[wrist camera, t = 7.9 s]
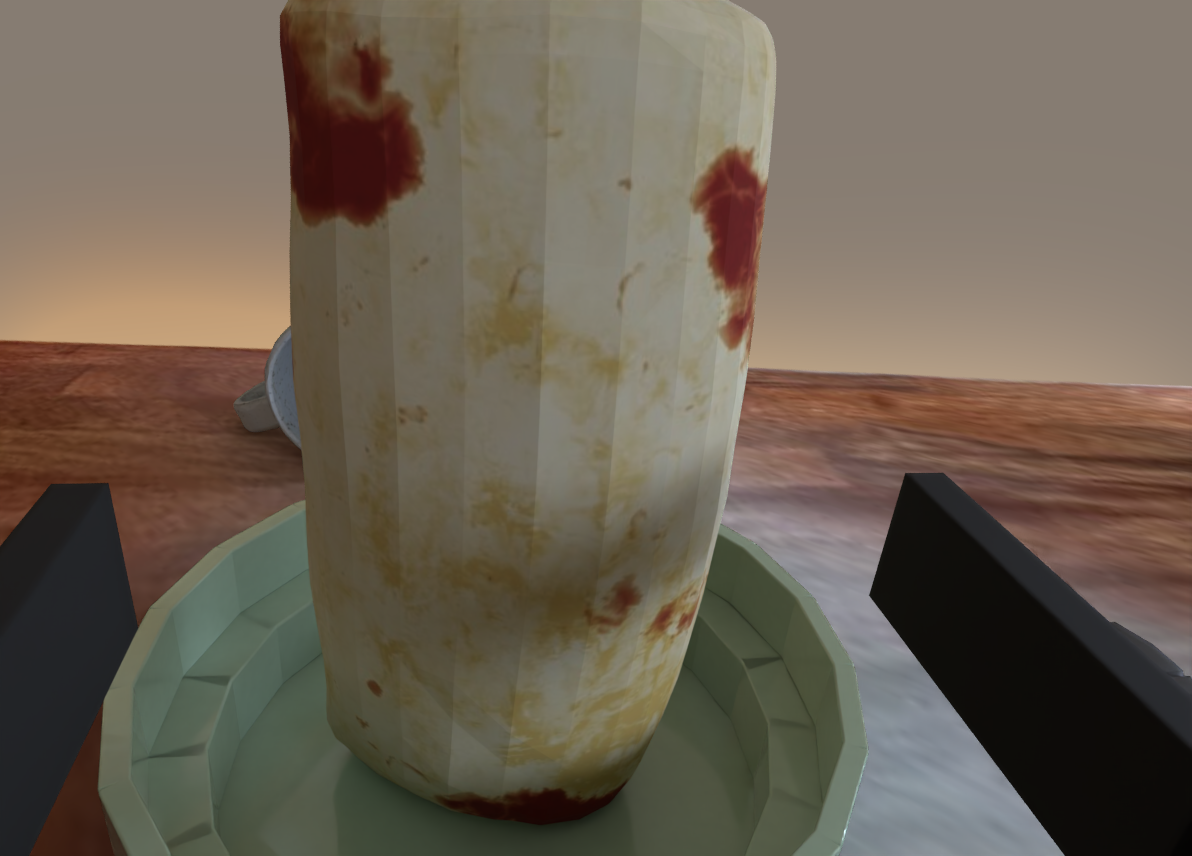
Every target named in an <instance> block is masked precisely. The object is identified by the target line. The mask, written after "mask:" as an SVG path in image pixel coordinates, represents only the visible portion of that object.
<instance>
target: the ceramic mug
mask: <svg viewBox="0 0 1192 856" xmlns="http://www.w3.org/2000/svg"><path fill="white" fill-rule="evenodd" d="M234 409H235V411H236V413H237V414H238V416H239V417H240V419H241V421H242V423H243V426H244V427H245V428H246V429H247V430H248V431H250V432H262V431H266V430H270V429H275V428H279V427H280V428H281V429H282V431H283V432H284V434H285V435H286V436H287V437H288V438H289V439H290V440H291V441H292V442H293V443H294V444H295V445H296V446H297V447H298V448H300V449H301V439H300V430H299V423H298V415H297V407H296V399H295V391H294V383H293V364H292V341H291V326H290V327H288V328H287V329H286V330H285V331H284V332H283V333H282V334H281V335H280V337H279V338H278V339H277V341H276V342H275V344H274V346H273V349H272V351H271V353H270V356H269V358H268V360H267V363H266V367H265V381H263V382H261V383H259V384H258V385H256V386H254V387H253V388H251V389H250V390H248V391H246V392H245V393H244V394H242V395H241V396H240V397H239V398H238V399H237V400H236V401H235V402H234Z"/></svg>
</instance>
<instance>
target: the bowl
mask: <svg viewBox="0 0 1192 856" xmlns="http://www.w3.org/2000/svg"><path fill="white" fill-rule="evenodd" d="M326 690H327V687H326V677H325V668H324V659H323V654H322V648H321V643H320V638H319V633H318V628H317V622H316V616H315V610H314V604H313V598H312V592H311V585H310V576H309V562H308V547H307V530H306V502H305V500H302V501H299V502H296V503H293V505H289V506H287V507H286V508H284V509H282V510H280V511H278V512H277V513H275V514H273V515H271V516H269V517H268V518H266V519H264V520H262V521H260V522H259V523H257V524H255V525H253V526H251V527H249V528H248V529H246V530H244V531H242V532H240V533H239V534H237V535H235V536H233V537H231V538H230V539H228V540H226V541H224V542H222V543H221V544H219V545H217V546H216V547H214V548H213V549H212V550H211V551H210V552H208V553H207V554H206V555H205V556H204V557H203V558H202V559H201V560H200V561H199V562H198V563H197V564H196V565H194V566H193V567H192V568H191V569H190V570H189V571H188V572H187V573H186V574H185V575H184V576H183V577H182V578H180V579H179V580H178V581H177V582H176V583H175V584H174V585H173V586H172V587H171V588H170V589H169V590H168V591H167V592H165V593H164V594H163V595H162V596H161V597H160V598H159V599H158V600H157V601H156V602H155V603H154V604H153V605H151V606H150V609H149V610H148V611H147V613H146V615H145V617H144V618H143V620H142V622H141V624H140V626H139V628H138V630H137V632H136V634H135V636H134V638H133V640H132V642H131V644H130V646H129V649H128V651H127V653H126V655H125V657H124V659H123V661H122V663H121V665H120V667H119V669H118V671H117V674H116V676H115V678H114V680H113V682H112V684H111V686H110V688H109V690H108V692H107V694H106V696H105V699H104V701H103V712H102V728H101V743H100V759H99V775H98V793H99V798H100V802H101V806H102V810H103V814H104V817H105V821H106V825H107V829H108V833H109V836H110V840H111V844H112V848H113V852H114V856H839V855H840V852H841V849H842V846H843V842H844V839H845V835H846V832H847V828H848V825H849V821H850V818H851V814H852V811H853V807H854V804H855V800H856V796H857V793H858V789H859V786H860V782H861V779H862V775H863V772H864V768H865V765H866V761H867V758H868V754H869V753H868V750H869V749H868V743H867V737H866V731H865V725H864V719H863V713H862V707H861V701H860V695H859V689H858V683H857V677H856V671H855V667H854V664H853V662H852V660H851V659H850V657H849V655H848V654H847V652H846V650H845V649H844V647H843V645H842V644H841V642H840V640H839V639H838V637H837V635H836V633H835V632H834V630H833V628H832V627H831V625H830V623H829V622H828V620H827V618H826V617H825V615H824V613H823V612H822V610H821V608H820V607H819V605H818V603H817V602H816V600H815V598H814V597H812V595H811V594H810V593H809V592H808V591H807V590H806V589H805V588H804V587H803V586H802V585H801V584H799V583H798V582H797V581H796V580H795V579H794V578H793V577H792V576H791V575H790V574H789V573H787V572H786V571H785V570H784V569H783V568H782V567H781V566H780V565H779V564H778V563H777V562H775V561H774V560H773V559H772V558H771V557H770V556H769V555H768V554H767V553H766V552H765V551H763V550H762V549H761V548H760V547H759V546H758V545H757V544H754V542H753V541H751V540H749V539H747V538H745V537H744V536H742V535H740V534H738V533H737V532H735V531H733V530H731V529H730V528H728V527H726V526H724V525H723V524H721V523H720V527H719V531H718V535H717V539H716V543H715V547H714V551H713V555H712V560H711V564H710V568H709V572H708V577H707V581H706V585H705V589H704V593H703V596H702V600H701V603H700V607H699V610H698V613H697V617H696V620H695V624H694V627H693V630H692V634H691V637H690V640H689V644H688V647H687V650H686V653H685V657H684V660H683V663H682V667H681V670H680V673H679V676H678V679H677V681H676V684H675V686H674V689H673V691H672V694H671V696H670V699H669V701H668V704H667V706H666V709H665V711H664V714H663V716H662V718H661V720H660V722H659V724H658V726H657V728H656V731H655V733H654V735H653V737H652V739H651V741H650V743H649V745H648V747H647V749H646V752H645V754H644V756H643V758H642V760H641V762H640V763H639V765H638V767H637V769H636V770H635V772H634V774H633V775H632V777H631V779H630V780H629V781H628V782H627V783H626V784H625V786H624V787H623V788H622V789H621V790H620V792H619V793H618V794H617V795H616V796H615V798H614V799H613V800H612V801H611V802H610V803H609V804H608V805H606V806H605V807H603V808H601V809H599V810H597V811H595V812H593V813H591V814H589V815H587V816H585V817H583V818H581V819H580V820H573V821H566V822H559V823H552V824H546V825H536V824H529V823H523V822H517V821H508V820H494V819H489V818H484V817H479V816H474V815H469V814H464V813H459V812H454V811H450V810H448V809H446V808H444V807H442V806H440V805H437V804H435V803H433V802H431V801H429V800H426V799H424V798H422V797H420V796H418V795H415V794H413V793H412V792H410V791H408V790H406V789H404V788H402V787H400V786H399V785H397V784H395V783H393V782H391V781H389V780H388V779H386V778H384V777H382V776H380V775H378V774H377V773H376V772H375V771H373V770H372V769H371V768H370V767H369V766H367V765H366V764H365V763H364V762H362V761H361V760H360V759H359V758H358V757H357V756H356V755H354V754H353V753H352V752H351V751H350V750H349V749H348V748H347V747H346V746H345V745H344V744H342V743H341V742H340V741H339V740H337V739H336V738H335V736H334V734H333V732H332V730H331V728H330V726H329V723H328V721H327V713H326Z"/></svg>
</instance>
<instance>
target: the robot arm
mask: <svg viewBox="0 0 1192 856" xmlns="http://www.w3.org/2000/svg"><path fill="white" fill-rule="evenodd" d="M869 596H870V597H871V599H872V600H873V601H874V603H875V604H876V605H877V606H878V608H879V609H880V610H881V612H882V613H883V614H884V616H885V617H886V618H887V620H888V621H889V622H890V624H891V625H892V626H893V628H894V629H895V630H896V632H897V633H898V634H899V636H900V637H901V638H902V640H903V641H904V642H905V644H906V645H907V646H908V648H909V649H910V650H911V652H912V653H913V654H914V656H915V657H916V658H917V660H918V661H919V662H920V664H921V665H922V666H923V668H924V669H925V670H926V672H927V673H928V674H929V676H930V677H931V678H932V680H933V681H934V682H935V684H936V685H937V686H938V688H939V689H940V690H941V692H942V693H943V694H944V696H945V697H946V698H947V700H948V701H949V702H950V704H951V705H952V706H953V708H954V709H955V710H956V712H957V713H958V714H959V716H960V717H961V718H962V720H963V721H964V722H965V724H966V725H967V726H968V728H969V729H970V730H971V732H972V733H973V734H974V735H975V737H976V738H977V739H978V741H979V742H980V743H981V745H982V746H983V747H984V749H985V750H986V751H987V753H988V754H989V755H990V757H991V758H992V759H993V761H994V762H995V763H996V765H997V766H998V767H999V769H1000V770H1001V771H1002V773H1003V774H1004V775H1005V777H1006V778H1007V779H1008V781H1009V782H1010V783H1011V785H1012V786H1013V787H1014V789H1015V790H1016V791H1017V793H1018V794H1019V795H1020V797H1021V798H1022V799H1023V801H1024V802H1025V803H1026V805H1027V806H1028V807H1029V809H1030V810H1031V811H1032V813H1033V814H1034V815H1035V817H1036V818H1037V819H1038V821H1039V822H1040V823H1041V825H1042V826H1043V827H1044V829H1045V830H1046V831H1047V833H1048V834H1049V835H1050V837H1051V838H1052V839H1053V841H1054V842H1055V843H1056V845H1057V846H1058V847H1059V849H1060V850H1061V851H1062V853H1063V854H1064V855H1065V856H1192V678H1191V677H1190V676H1184V675H1183V670H1182V669H1180V668H1179V667H1178V666H1177V665H1176V664H1175V663H1174V662H1172V661H1171V660H1170V659H1169V658H1168V657H1167V656H1166V655H1164V654H1163V653H1162V652H1161V651H1160V650H1159V649H1158V648H1156V647H1155V646H1154V645H1153V644H1151V643H1150V642H1148V641H1146V640H1145V639H1143V638H1141V637H1139V636H1138V635H1136V634H1134V633H1133V632H1131V631H1129V630H1128V629H1126V628H1124V627H1123V626H1121V625H1119V624H1118V623H1116V622H1109V621H1108V620H1107V619H1106V618H1105V617H1103V616H1102V615H1101V614H1100V613H1099V612H1098V611H1097V610H1096V609H1094V608H1093V607H1092V606H1091V605H1090V604H1089V603H1088V602H1087V601H1086V600H1084V599H1083V598H1082V597H1081V596H1080V595H1079V594H1078V593H1077V592H1076V591H1074V590H1073V589H1072V588H1071V587H1070V586H1069V585H1068V584H1067V583H1065V582H1064V581H1063V580H1062V579H1061V578H1060V577H1059V576H1058V575H1057V574H1055V573H1054V572H1053V571H1052V570H1051V569H1050V568H1049V567H1048V566H1047V565H1045V564H1044V563H1043V562H1042V561H1041V560H1040V559H1039V558H1038V557H1036V556H1035V555H1034V554H1033V553H1032V552H1031V551H1030V550H1029V549H1028V548H1026V547H1025V546H1024V545H1023V544H1022V543H1021V542H1020V541H1019V540H1018V539H1016V538H1015V537H1014V536H1013V535H1012V534H1011V533H1010V532H1009V531H1008V530H1006V529H1005V528H1004V527H1003V526H1002V525H1001V524H1000V523H999V522H997V521H996V520H995V519H994V518H993V517H992V516H991V515H990V514H989V513H987V512H986V511H985V510H984V509H983V508H982V507H981V506H980V505H979V504H977V503H976V502H975V501H974V500H973V499H972V498H971V497H970V496H968V495H967V494H966V493H965V492H964V491H963V490H962V489H961V488H960V487H958V486H957V485H956V484H955V483H954V482H953V481H952V480H951V479H950V478H948V477H947V476H946V475H945V474H944V473H905V476H904V480H903V483H902V487H901V490H900V493H899V497H898V500H897V503H896V507H895V510H894V514H893V517H892V520H891V524H890V527H889V530H888V534H887V537H886V541H885V544H884V547H883V551H882V554H881V557H880V561H879V564H878V568H877V571H876V574H875V578H874V581H873V584H872V588H871V591H870V594H869ZM137 630H138V625H137V621H136V616H135V611H134V606H133V601H132V596H131V591H130V586H129V582H128V577H127V572H126V567H125V562H124V557H123V552H122V547H121V543H120V538H119V533H118V528H117V523H116V518H115V513H114V508H113V504H112V499H111V494H110V489H109V484H108V483H88V484H51V485H50V486H49V487H48V488H47V490H46V491H45V492H44V493H43V494H42V496H41V497H40V498H39V499H38V501H37V502H36V503H35V504H34V505H33V507H32V508H31V509H30V510H29V512H28V513H27V514H26V515H25V517H24V518H23V519H22V520H21V521H20V523H19V524H18V525H17V526H16V528H15V529H14V530H13V531H12V532H11V534H10V535H9V536H8V537H7V539H6V540H5V541H4V542H3V544H2V545H1V546H0V856H29V855H30V853H31V850H32V848H33V846H34V844H35V842H36V840H37V838H38V836H39V834H40V832H41V830H42V828H43V825H44V823H45V821H46V819H47V817H48V815H49V813H50V811H51V809H52V807H53V805H54V803H55V801H56V798H57V796H58V794H59V792H60V790H61V788H62V786H63V784H64V782H65V780H66V778H67V776H68V773H69V771H70V769H71V767H72V765H73V763H74V761H75V759H76V757H77V755H78V753H79V751H80V748H81V746H82V744H83V742H84V740H85V738H86V736H87V734H88V732H89V730H90V728H91V726H92V723H93V721H94V719H95V717H96V715H97V713H98V711H99V709H100V707H101V705H102V703H103V701H104V699H105V696H106V694H107V692H108V690H109V688H110V686H111V684H112V682H113V680H114V678H115V676H116V674H117V671H118V669H119V667H120V665H121V663H122V661H123V659H124V657H125V655H126V653H127V651H128V649H129V646H130V644H131V642H132V640H133V638H134V636H135V634H136V632H137Z"/></svg>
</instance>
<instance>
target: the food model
mask: <svg viewBox="0 0 1192 856" xmlns="http://www.w3.org/2000/svg"><path fill="white" fill-rule="evenodd" d="M280 47H281V54H282V63H283V72H284V81H285V92H286V102H287V112H288V122H289V131H290V176H291V220H290V312H291V313H290V314H291V341H292V364H293V383H294V391H295V399H296V407H297V415H298V423H299V430H300V439H301V450H302V460H303V471H304V482H305V502H306V530H307V547H308V562H309V576H310V585H311V592H312V598H313V604H314V610H315V616H316V622H317V628H318V633H319V638H320V643H321V648H322V654H323V659H324V668H325V677H326V687H327V690H326V713H327V721H328V723H329V726H330V728H331V730H332V732H333V734H334V736H335V738H336V739H337V740H339V741H340V742H341V743H342V744H344V745H345V746H346V747H347V748H348V749H349V750H350V751H351V752H352V753H353V754H354V755H356V756H357V757H358V758H359V759H360V760H361V761H362V762H364V763H365V764H366V765H367V766H369V767H370V768H371V769H372V770H373V771H375V772H376V773H377V774H378V775H380V776H382V777H384V778H386V779H388V780H389V781H391V782H393V783H395V784H397V785H399V786H400V787H402V788H404V789H406V790H408V791H410V792H412V793H413V794H415V795H418V796H420V797H422V798H424V799H426V800H429V801H431V802H433V803H435V804H437V805H440V806H442V807H444V808H446V809H448V810H450V811H454V812H459V813H464V814H469V815H474V816H479V817H484V818H489V819H494V820H508V821H517V822H523V823H529V824H536V825H546V824H552V823H559V822H566V821H573V820H580V819H581V818H583V817H585V816H587V815H589V814H591V813H593V812H595V811H597V810H599V809H601V808H603V807H605V806H606V805H608V804H609V803H610V802H611V801H612V800H613V799H614V798H615V796H616V795H617V794H618V793H619V792H620V790H621V789H622V788H623V787H624V786H625V784H626V783H627V782H628V781H629V780H630V779H631V777H632V775H633V774H634V772H635V770H636V769H637V767H638V765H639V763H640V762H641V760H642V758H643V756H644V754H645V752H646V749H647V747H648V745H649V743H650V741H651V739H652V737H653V735H654V733H655V731H656V728H657V726H658V724H659V722H660V720H661V718H662V716H663V714H664V711H665V709H666V706H667V704H668V701H669V699H670V696H671V694H672V691H673V689H674V686H675V684H676V681H677V679H678V676H679V673H680V670H681V667H682V663H683V660H684V657H685V653H686V650H687V647H688V644H689V640H690V637H691V634H692V630H693V627H694V624H695V620H696V617H697V613H698V610H699V607H700V603H701V600H702V596H703V593H704V589H705V585H706V581H707V577H708V572H709V568H710V564H711V560H712V555H713V551H714V547H715V543H716V539H717V535H718V531H719V527H720V523H721V519H722V515H723V511H724V507H725V503H726V499H727V494H728V487H729V481H730V474H731V467H732V461H733V454H734V447H735V441H736V435H737V430H738V424H739V418H740V412H741V407H742V401H743V395H744V390H745V384H746V376H747V368H748V360H749V352H750V345H751V337H752V329H753V322H754V312H755V301H756V291H757V280H758V270H759V259H760V249H761V239H762V229H763V220H764V211H765V201H766V191H767V182H768V171H769V159H770V148H771V137H772V126H773V114H774V101H775V89H776V88H775V87H776V54H775V48H774V43H773V38H772V36H771V34H770V32H769V30H768V28H767V26H766V24H765V23H764V22H763V21H761V20H760V19H759V18H757V17H756V16H754V15H753V14H751V13H749V12H748V11H746V10H744V9H743V8H741V7H739V6H737V5H735V4H734V3H732V2H730V1H728V0H288V2H287V4H286V6H285V7H284V9H283V11H282V13H281V15H280Z"/></svg>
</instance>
